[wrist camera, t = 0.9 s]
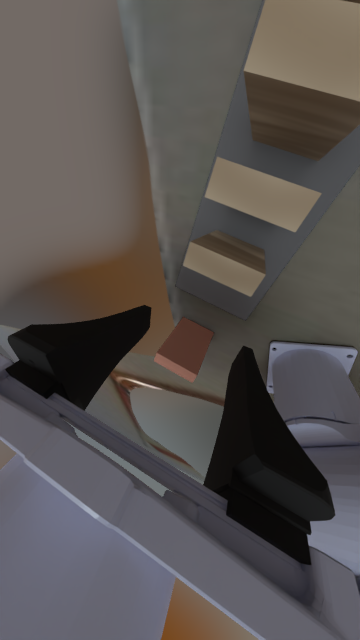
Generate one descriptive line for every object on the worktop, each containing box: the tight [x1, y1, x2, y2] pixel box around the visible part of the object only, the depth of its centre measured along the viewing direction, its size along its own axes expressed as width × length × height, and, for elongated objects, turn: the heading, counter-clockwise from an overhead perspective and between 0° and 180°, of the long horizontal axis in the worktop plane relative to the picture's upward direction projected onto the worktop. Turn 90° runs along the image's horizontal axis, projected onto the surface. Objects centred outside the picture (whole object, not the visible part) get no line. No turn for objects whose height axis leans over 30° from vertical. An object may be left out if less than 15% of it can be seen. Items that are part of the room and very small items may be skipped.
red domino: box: [154, 317, 214, 382], centre depth 21 cm, size 2×5×8 cm, turn 72°
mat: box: [175, 0, 360, 321], centre depth 14 cm, size 22×10×1 cm, turn 162°
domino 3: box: [183, 230, 266, 297], centre depth 13 cm, size 2×5×8 cm, turn 72°
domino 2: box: [205, 157, 322, 232], centre depth 11 cm, size 2×5×8 cm, turn 73°
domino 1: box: [244, 0, 360, 161], centre depth 8 cm, size 2×5×8 cm, turn 73°
